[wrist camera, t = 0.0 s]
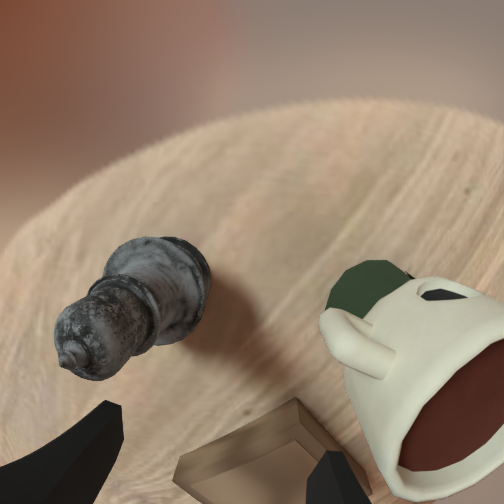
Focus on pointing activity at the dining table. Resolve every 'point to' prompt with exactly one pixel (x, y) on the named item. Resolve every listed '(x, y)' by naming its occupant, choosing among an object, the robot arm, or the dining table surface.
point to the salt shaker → (133, 306)
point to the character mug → (421, 376)
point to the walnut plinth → (261, 461)
